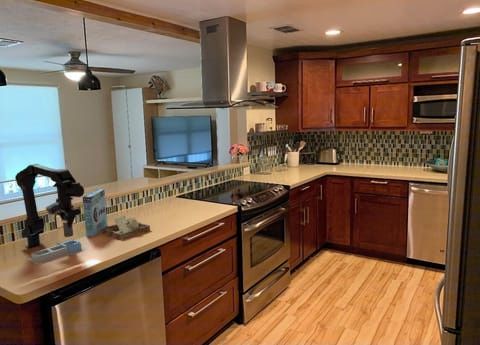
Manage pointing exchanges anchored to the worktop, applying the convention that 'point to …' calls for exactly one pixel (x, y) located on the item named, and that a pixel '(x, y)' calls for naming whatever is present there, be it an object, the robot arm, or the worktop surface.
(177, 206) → the worktop surface
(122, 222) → the pale green lump
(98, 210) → the gum box
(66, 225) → the dark grey cylinder
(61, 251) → the narrow cubby shelf
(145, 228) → the cheese crate
